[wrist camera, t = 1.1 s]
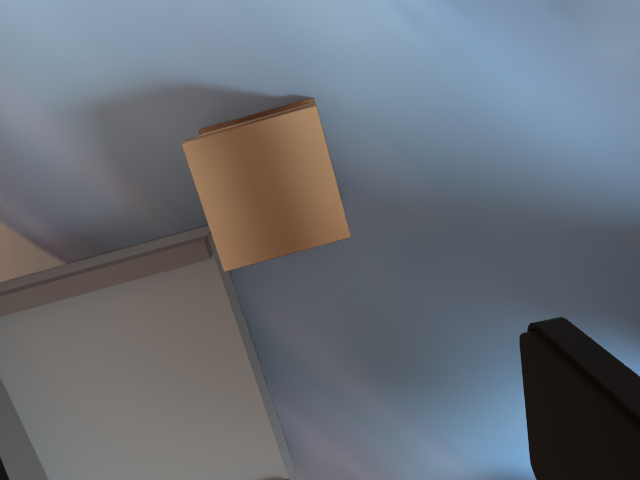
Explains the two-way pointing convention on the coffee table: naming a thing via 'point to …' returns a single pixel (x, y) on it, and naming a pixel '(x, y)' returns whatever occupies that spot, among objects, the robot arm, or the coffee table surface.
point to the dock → (135, 371)
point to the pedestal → (267, 184)
